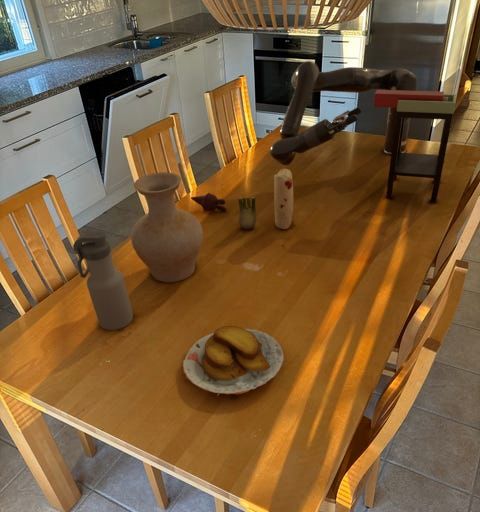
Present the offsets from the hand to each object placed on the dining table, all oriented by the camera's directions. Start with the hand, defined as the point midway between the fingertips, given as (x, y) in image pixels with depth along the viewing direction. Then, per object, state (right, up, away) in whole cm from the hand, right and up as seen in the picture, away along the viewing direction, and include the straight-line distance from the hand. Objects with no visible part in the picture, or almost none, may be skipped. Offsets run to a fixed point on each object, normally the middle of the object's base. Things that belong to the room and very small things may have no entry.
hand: (358, 113), depth 181 cm
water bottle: (-78, -74, -35) cm, 113 cm away
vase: (-64, -57, -17) cm, 87 cm away
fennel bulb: (-39, -41, +1) cm, 57 cm away
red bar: (+15, 0, -7) cm, 17 cm away
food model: (-26, -40, +1) cm, 48 cm away
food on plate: (-44, -85, -53) cm, 109 cm away
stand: (+25, -23, +16) cm, 37 cm away
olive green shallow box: (+21, -2, -8) cm, 22 cm away
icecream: (-54, -32, +14) cm, 64 cm away
